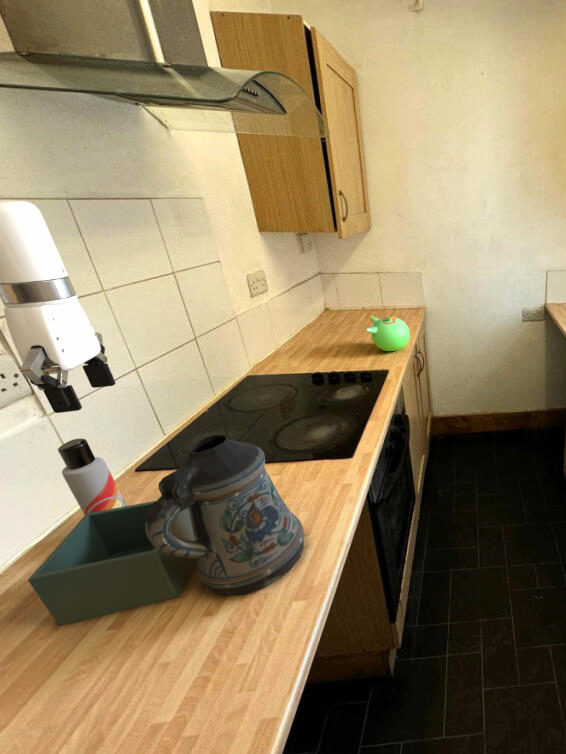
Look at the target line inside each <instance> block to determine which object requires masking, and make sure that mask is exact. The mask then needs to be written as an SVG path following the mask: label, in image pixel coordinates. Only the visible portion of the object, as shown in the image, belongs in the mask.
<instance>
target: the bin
mask: <svg viewBox="0 0 566 754" xmlns="http://www.w3.org/2000/svg"><path fill="white" fill-rule="evenodd" d="M155 501H156V500H154V501H147V502H141V503H137V504H131V505H126V506H125V507H120V508H114V509H109V510H103V511H98V512H92V513H87V514H86V515H83V517H82V518H81V519H79V521H78V522H77V523H76V525H75V526H74V527H73V528H72V529H71V530H70V531H69V533H67V535H66V536H65V537H64V538H63V539H62V541H60V542H59V544H58V545H57V546H56V547H55V548H54V549H53V551H51V553H50V554H49V555H48V556H47V557H46V558H45V560H44V561H43V562H42V563H41V564H40V565H39V566H38V568H37V569H36V570H35V571H34V572H33V573H32V574H31V575H30V576H29V578H27V581H28V583H29V585H31V587H32V589H33V590H34V592H35V593H36V595H37V596H38V598H39V599H40V600H41V602H42V603H43V605H44V606H45V608H46V609H47V611H48V612H49V614H50V616H51V617H52V618H53V619H54V621H55V623H56V624H57V626H58V627H61V626H65V625H69V624H74V623H78V622H82V621H86V620H90V619H94V618H98V617H102V616H106V615H111V614H115V613H119V612H123V611H128V610H131V609H135V608H139V607H145V606H148V605H152V604H156V603H160V602H164V601H168V600H173V599H178V598H179V597H180V595H181V593H182V591H183V590H184V589H183V588H184V586H185V584H186V582H187V580H188V578H189V576H190V574H191V571H192V569H193V567H194V565H195V563H196V561H197V558H185V557H178V556H174V555H171V554H168V553H165V552H162V551H161V550H159V549H157V548H156V547H155V546H154V545H153V544H152V543H151V542H150V541H149V539H148V537H147V535H146V528H145V523H146V521H145V518H146V513H147V511H148V509H149V508H150V507H151V506H152V504H153V503H154V502H155ZM171 533H172V534H173V535H174V536H176V537H178V538H180V539H182V540H189V541H196V540H195V536H194V532H193V528H192V524H191V519H190V514H189V509H188V508H187V509H185V510H183V511H180V512H178V513H177V515H176V516H175V517H174V519H173V521H172V524H171Z"/></svg>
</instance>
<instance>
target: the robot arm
mask: <svg viewBox="0 0 566 754" xmlns="http://www.w3.org/2000/svg"><path fill="white" fill-rule="evenodd" d="M78 299H79V297H78V295H77V292H76V290H75V288H74V285H73V283H72V281H71V279H70V276H69V274H68V271H67V270H66V267H65V265H64V262H63V260H62V258H61V256H60V253H59V250H58V249H57V247H56V244H55V241H54V238H53V237H52V234H51V232H50V230H49V228H48V225H47V222H46V221H45V219H44V216H43V214H42V212H41V211H40V209H39V208H38V207H37V206H36V205H35V204H34V203H31V202H30V201H25V200H21V199H0V300H1V302H2V304H3V306H4V307H3V313H4V318H5V321H6V326H7V328H8V332H9V334H10V335H9V336H10V337H11V340H12V342H13V344H14V347H15V350H16V351H17V354H18V357H19V358H20V360H21V363H22V364H21V366H20V368H19V371H20V373H21V374H22V375H23V376H24V377H26V378H27V379H28V380H29V383H30V384H32V385H34V386H35V387H37V389H38V390H39V391H42V392H43V393H44V395H45V397H46V400H47V401H48V403H49V405H50V408H51V409H52V411H53V412H54V413H55V414H62V413H69V412H71V413H72V412H77V411H81V410H82V409H83V406H82V403H81V402H80V400H79V397H78V395H77V393H76V391H75V389H74V387H73V385H72V384H68V377H69V371H72V370H74V369H75V368H78V367H79V366H81V365H82V369H83V372H84V373H85V376H86V378H87V380H88V382H89V384H90V387H92V388H93V389H96V388H106V387H113V386H115V385H116V380H115V377H114V376H113V373H112V370H111V368H110V366H109V364H108V356H106V355H105V353H106V347H105V346H104V342H103V335H102V333H100V332H96V331H95V329H94V328H93V325H92V323H91V321H90V319H89V318H88V316H87V314H86V311H85V310H84V309H83V307H82V305H81V303H80V302H79V301H78ZM83 364H84V365H83ZM55 374H56V378H55V377H53V376H51V375H55Z"/></svg>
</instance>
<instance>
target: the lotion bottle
mask: <svg viewBox="0 0 566 754" xmlns="http://www.w3.org/2000/svg"><path fill="white" fill-rule="evenodd" d="M57 451H58V453H59V455H60V457H61V459H62V460H63V463H64V464H65V467H64V468H63V469H62V470H61V474H62V477H63V479H64V480H65V482H66V484H67V486H68V488H69V490H70V492H71V493H72V495H73V498H74V499H75V501H76V502H77V504H78V506H79V508H80V510H81V512H82V513H83V516H85V515H86V514H87V513H92V512H98V511H103V510H109V509H114V508H120V507H125V506H127V504H126V502H125V499H124V498H123V496H122V494H121V491H120V489H119V487H118V485H117V483H116V481H115V479H114V478H113V475H112V472H111V471H110V469H109V467H108V466H107V463H106V461H105V459H104V458H103V457H100V456H95V455H94V452H93V450H92V448H91V447H90V444H89V442H88V440H87V439H85V438H74V439H71V440H68V441H67V442H65V443H63V444H62V445H61V446H59V447H58V448H57Z"/></svg>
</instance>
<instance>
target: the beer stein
mask: <svg viewBox="0 0 566 754" xmlns="http://www.w3.org/2000/svg"><path fill="white" fill-rule="evenodd" d="M265 466H266V455H265V452H264V450H262V448H260V447H259V446H256V445H255V444H252V443H250V442H245V441H244V442H243V441H237V440H232V439H229V438H228V437H227V436H226V435H219V434H216V435H211V436H207V437H204V438H202V439H200V440H198V441H196V442H195V443H194V444H192V445H191V447H190V448H189V452H188V456H187V457H186V459H185V460H184V462H183V463H182V464H181V465H180V467H179V468H177V469H176V470H174V471H173V472H171V473H169V474H167V475H165V476H163V477H162V479H160V481H159V482H158V490H159V492H160V496H159V498H158V499H157V500H154V501H155V502H154V503H153V504H152V506H151V507H150V508H149V509H148V511H147V513H146V518H145V521H146V523H145V528H146V535H147V537H148V539H149V541H150V542H151V543H152V544H153V545H154V546H155V547H156V548H157V549H159V550H161V551H162V552H165V553H168V554H171V555H174V556H178V557H185V558H197V559H196V561H195V563H196V564H195V571H196V574H197V576H198V578H199V580H200V581H201V582H202V583H203V584H204V585H205V586H206V587H207V588H208V589H209V590H210V591H211V592H213V593H214V594H217V595H221V596H224V597H225V596H226V597H234V596H243V595H248V594H251V593H254V592H256V591H260V590H262V589H265V588H268V587H269V586H271V585H272V584H274V583H275V582H278V580H280V579H282V578H283V577H285V575H286V574H287V573H289V572H290V571H291V570H292V569H293V568H294V566H295V565H296V564H297V562H299V560H300V559H301V556H302V554H303V551H304V549H305V541H304V536H305V535H304V534H305V532H304V525H303V524H302V522H301V520H300V519H299V518H298V517H297V515H295V514H294V513H293V512H292V511H291V509H289V507H288V506H287V504H286V503H285V502H284V500H283V499H282V497H281V495H280V493H279V491H278V490H277V487H276V486H275V484H274V482H273V480H272V479H271V477H270V475H269V473H268V471H266V470H267V469H266V468H265ZM187 508H188V509H189V514H190V519H191V524H192V528H193V532H194V536H195V540H196V541H189V540H182V539H180V538H178V537H176V536H174V535H173V534H172V533H171V524H172V521H173V519H174V517H175V516H176V515H177V513H178V512H180V511H183V510H185V509H187Z"/></svg>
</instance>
